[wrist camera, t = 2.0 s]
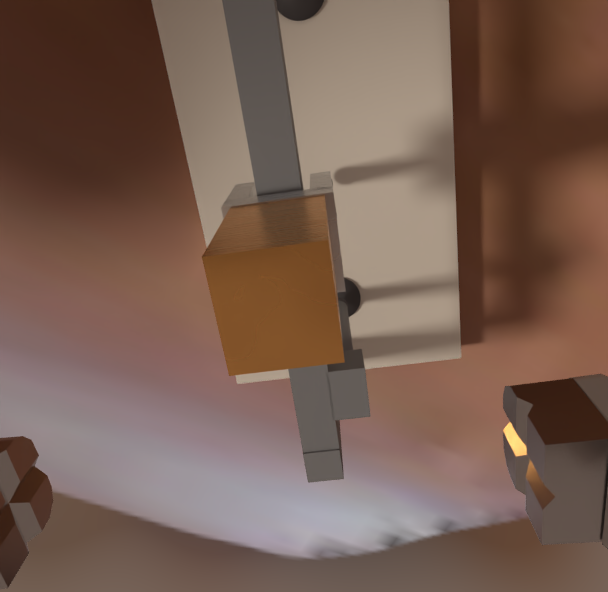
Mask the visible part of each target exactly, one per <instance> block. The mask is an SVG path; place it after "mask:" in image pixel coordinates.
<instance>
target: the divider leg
mask: <svg viewBox="0 0 608 592" xmlns="http://www.w3.org/2000/svg"><path fill="white" fill-rule="evenodd" d="M221 211H222V215H223V221H222V223H221V224H220V226H219V228H218V230H217V231H216V233H215V235H214V237H213V238H212V240H211V242H210V244H209V245H208V247H207V249H206V251H205V252H204V254H203V256H202V259H203V264H204V268H205V272H206V277H207V281H208V285H209V290H210V294H211V299H212V303H213V307H214V312H215V316H216V320H217V325H218V329H219V333H220V338H221V342H222V346H223V351H224V355H225V359H226V364H227V368H228V373H229V376H233V375H242V374H250V373H259V372H267V371H276V370H284V369H293V368H302V367H310V366H319V365H327V364H336V363H344V362H345V360H344V351H343V342H342V332H341V323H340V313H339V304H338V294H337V293H338V292H346V290H345V281H344V273H343V265H342V257H341V249H340V241H339V233H338V225H337V213H336V206H335V200H334V192H333V181H332V179H331V173H330V171H326V172H319V173H312V174H310V189H306V190H298V191H291V192H284V193H277V194H270V195H263V196H257V193H256V187H255V182H249V183H242V184H236V185H235V186H234V188H233V189H232V191H231V193H230V194H229V196H228V197H227V199H226V200H225V202H224V204H223V205H222V207H221Z"/></svg>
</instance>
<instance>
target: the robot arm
mask: <svg viewBox="0 0 608 592" xmlns="http://www.w3.org/2000/svg"><path fill="white" fill-rule="evenodd" d="M503 409H504V411H505V413H506V415H507V417H508V418H509V420H510V423H509V424H508V425H507V426H506V428H505V429H504V430H503V441H504V452H505V458H506V464H507V467H508V471H509V474H510V477H511V479H512V481H513V484H514V486H515V488H516V489H517V490H518V491H520V492H522V493H523V494H525V495H526V512H527V514H528V516H529V519H530V521H531V522H532V525H533V527H534V529H535V531H536V533H537V535H538V538H539V540H540V542H541V544H542V545H546V544H565V543H584V542H602V545H604V546H605V547H606V548H607V549H608V377H607V376H605V375H603V374H594V375H587V376H580V377H573V378H568V379H562V380H553V381H545V382H537V383H529V384H521V385H512V386H505V389H504V394H503ZM38 456H39V455H38V453H37V451H36V449H35V446H34V444H33V442H32V440H30V439H28V438H26V437H23V436H20V437H8V438H0V589H4V588H8V587H9V586H10V584H11V582H12V581H13V579H14V577H15V576H16V574H17V572H18V571H19V569H20V567H21V566H22V564H23V562H24V561H25V559H26V557H27V556H28V554H29V551H28V546H27V542H29V541H30V540H31V539H33V538H34V537H35V536H37V535H38V534H39V533H40V532H42V530H43V529H44V527H45V525H46V523H47V522H48V520H49V518H50V514H51V508H52V504H53V494H52V487H51V484H50V482H49V479H48V476H47V475H46V474H44V473H43V472H42V471H40V470H39V469H38V468H36V467H35V464H36V461H37V459H38Z"/></svg>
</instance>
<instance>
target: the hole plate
mask: <svg viewBox="0 0 608 592" xmlns="http://www.w3.org/2000/svg"><path fill="white" fill-rule="evenodd" d="M151 1H152V6H153V10H154V15H155V19H156V23H157V28H158V32H159V37H160V41H161V46H162V50H163V55H164V59H165V64H166V68H167V72H168V77H169V81H170V86H171V90H172V95H173V99H174V104H175V108H176V113H177V117H178V122H179V126H180V130H181V135H182V139H183V144H184V148H185V153H186V157H187V162H188V166H189V171H190V175H191V179H192V184H193V188H194V193H195V197H196V202H197V206H198V211H199V215H200V220H201V224H202V228H203V233H204V237H205V242H206V246H207V247H208V245H209V244H210V242H211V240H212V238H213V237H214V235H215V233H216V231H217V230H218V228H219V226H220V224H221V223H222V221H223V215H222V211H221V207H222V205H223V204H224V202H225V200H226V199H227V197H228V196H229V194H230V193H231V191H232V189H233V188H234V186H235V185H236V184H242V183H249V182H255V187H256V193H257V196H263V195H270V194H277V193H284V192H291V191H298V190H306V189H310V174H312V173H319V172H326V171H330V173H331V179H332V181H333V192H334V200H335V206H336V213H337V225H338V233H339V241H340V249H341V257H342V265H343V273H344V281H345V290H346V292H338V293H337V294H338V304H339V313H340V323H341V332H342V342H343V351H344V360H345V362H344V363H336V364H327V365H319V366H310V367H302V368H293V369H284V370H276V371H267V372H259V373H250V374H242V375H236V380H237V384H241V383H250V382H258V381H267V380H276V379H284V378H290V382H291V388H292V393H293V399H294V404H295V410H296V416H297V421H298V427H299V432H300V438H301V443H302V449H303V456H304V462H305V467H306V473H307V479H308V482H318V481H327V480H337V479H344V476H343V462H342V449H341V435H340V421H339V420H343V419H352V418H362V417H370V408H369V399H368V391H367V382H366V373H365V369H371V368H379V367H388V366H397V365H405V364H414V363H422V362H431V361H440V360H448V359H457V358H461V335H460V307H459V278H458V249H457V220H456V191H455V163H454V134H453V105H452V76H451V48H450V19H449V0H151Z"/></svg>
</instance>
